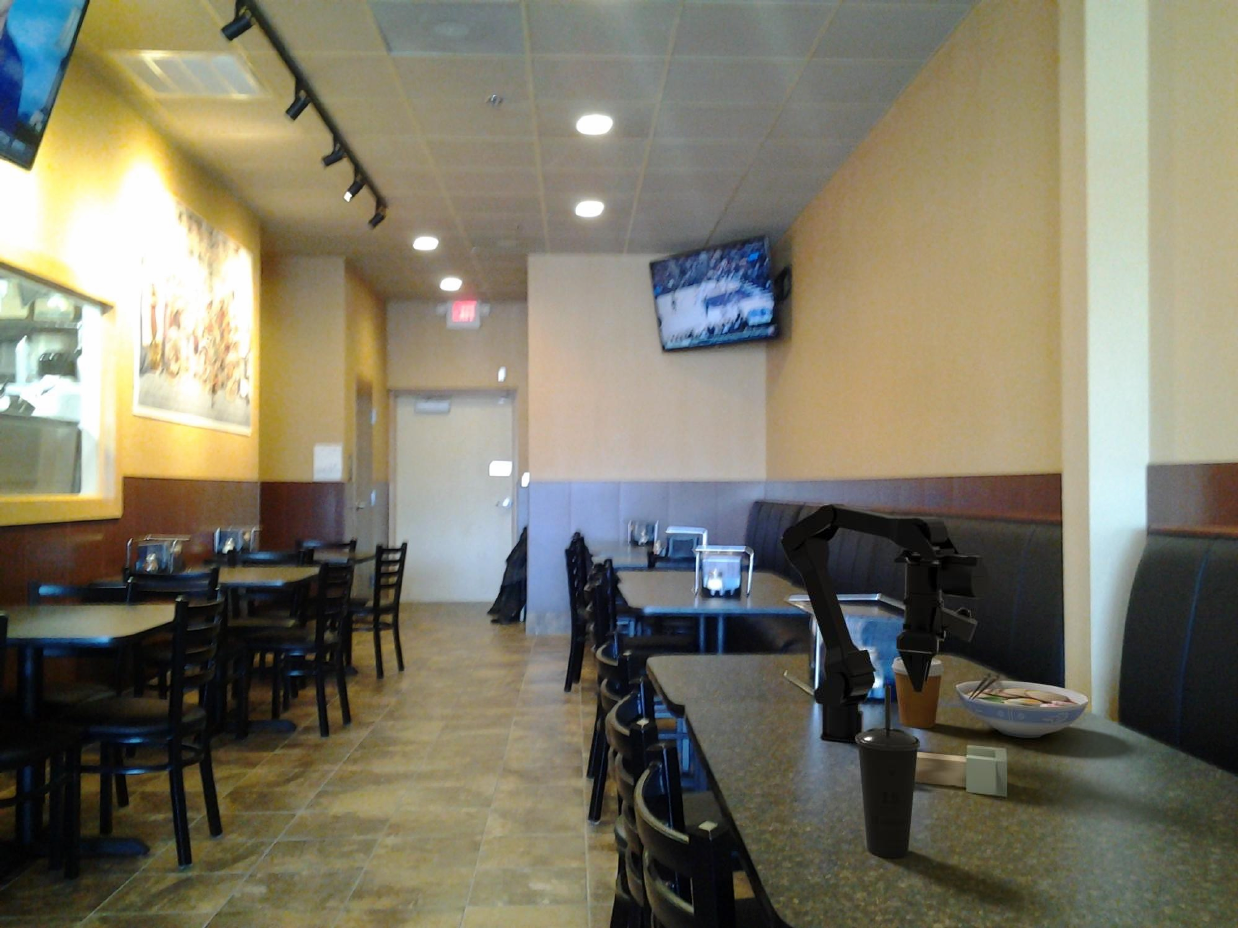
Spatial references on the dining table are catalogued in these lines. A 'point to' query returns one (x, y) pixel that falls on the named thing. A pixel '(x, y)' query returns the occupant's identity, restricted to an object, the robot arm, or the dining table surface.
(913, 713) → the disposable coffee cup
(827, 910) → the dining table surface
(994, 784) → the right end cap
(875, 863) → the dining table surface
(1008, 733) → the ramen bowl
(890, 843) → the drinking cup
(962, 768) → the slat
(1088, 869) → the dining table surface
